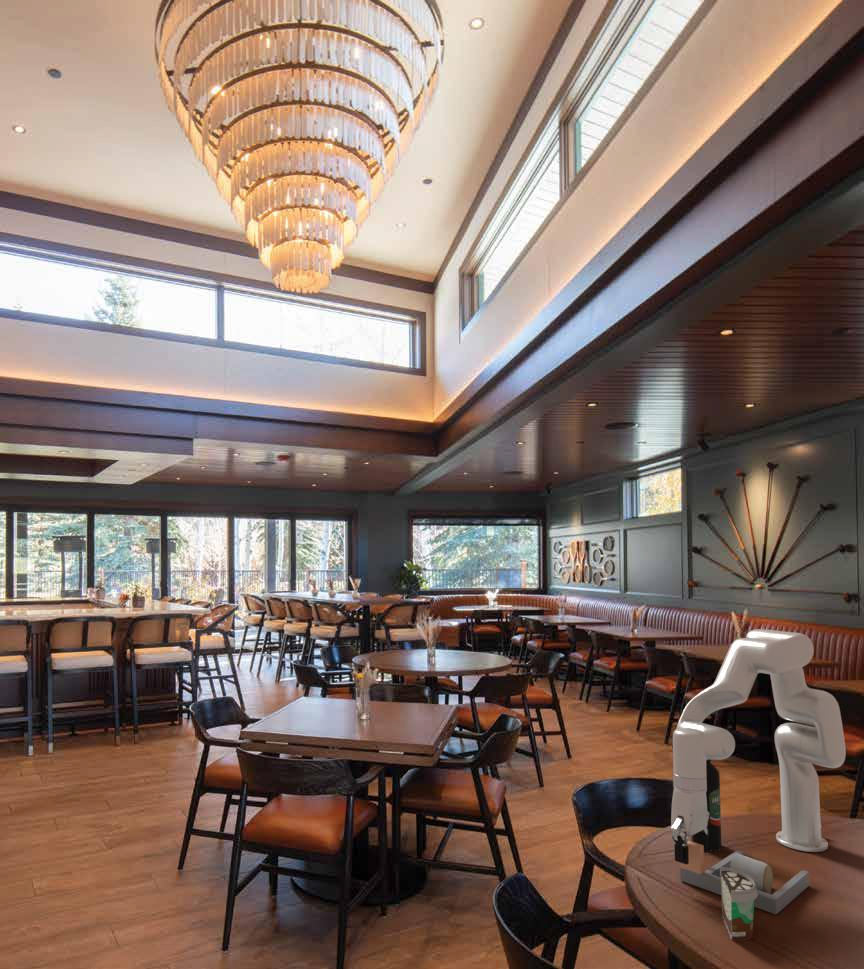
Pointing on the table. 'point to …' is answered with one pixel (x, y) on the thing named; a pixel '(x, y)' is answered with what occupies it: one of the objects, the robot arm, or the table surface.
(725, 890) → the food container
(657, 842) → the table surface
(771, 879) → the ceramic mug
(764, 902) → the pull frame
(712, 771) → the wine bottle
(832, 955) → the table surface
